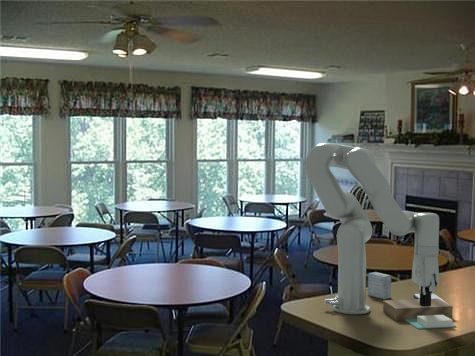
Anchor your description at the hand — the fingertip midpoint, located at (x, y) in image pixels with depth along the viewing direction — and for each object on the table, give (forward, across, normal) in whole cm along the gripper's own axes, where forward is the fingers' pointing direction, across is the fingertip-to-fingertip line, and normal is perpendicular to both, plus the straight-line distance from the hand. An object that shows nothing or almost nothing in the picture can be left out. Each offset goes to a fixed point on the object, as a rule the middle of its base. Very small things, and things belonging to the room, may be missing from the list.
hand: (425, 305), depth 187 cm
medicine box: (+5, -30, -3) cm, 31 cm away
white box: (+2, +6, 0) cm, 7 cm away
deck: (+5, -6, 0) cm, 7 cm away
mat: (+5, +4, 0) cm, 6 cm away
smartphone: (+5, -20, +13) cm, 25 cm away
